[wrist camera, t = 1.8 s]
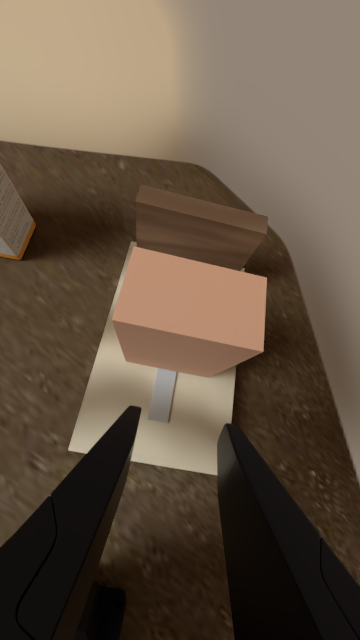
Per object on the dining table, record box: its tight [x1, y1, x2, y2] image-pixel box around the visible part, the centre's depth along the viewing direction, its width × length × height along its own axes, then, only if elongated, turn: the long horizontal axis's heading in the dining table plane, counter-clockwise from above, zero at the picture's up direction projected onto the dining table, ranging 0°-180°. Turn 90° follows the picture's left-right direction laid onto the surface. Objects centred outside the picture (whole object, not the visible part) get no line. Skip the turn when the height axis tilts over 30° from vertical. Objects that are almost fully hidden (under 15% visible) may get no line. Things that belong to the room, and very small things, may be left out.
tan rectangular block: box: [112, 246, 267, 378], centre depth 16 cm, size 4×7×10 cm, turn 80°
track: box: [68, 185, 268, 475], centre depth 19 cm, size 19×12×8 cm, turn 170°
